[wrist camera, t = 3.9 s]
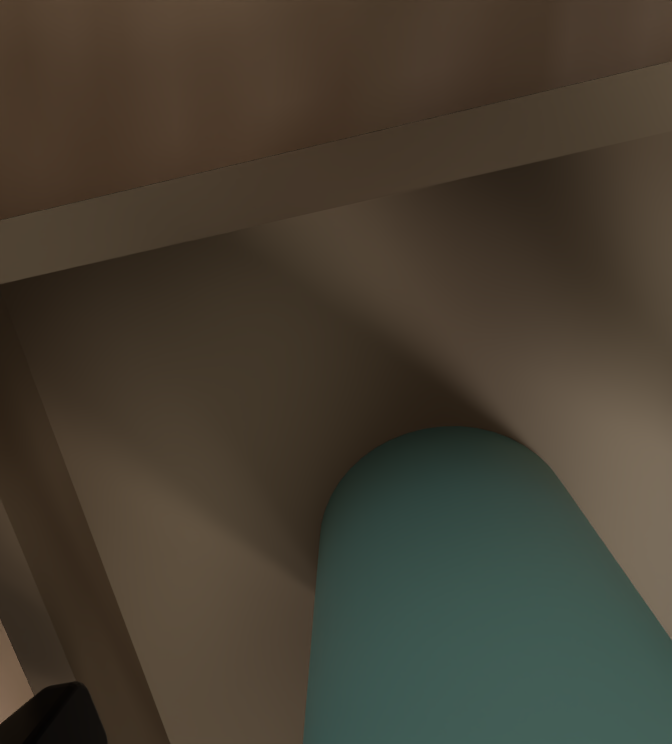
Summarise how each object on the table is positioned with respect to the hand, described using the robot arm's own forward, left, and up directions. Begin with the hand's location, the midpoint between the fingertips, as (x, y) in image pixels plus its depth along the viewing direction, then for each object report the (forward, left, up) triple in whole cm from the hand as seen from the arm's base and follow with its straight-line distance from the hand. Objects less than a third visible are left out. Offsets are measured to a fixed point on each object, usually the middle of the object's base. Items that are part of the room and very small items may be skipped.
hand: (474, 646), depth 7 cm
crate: (0, 0, -2) cm, 2 cm away
